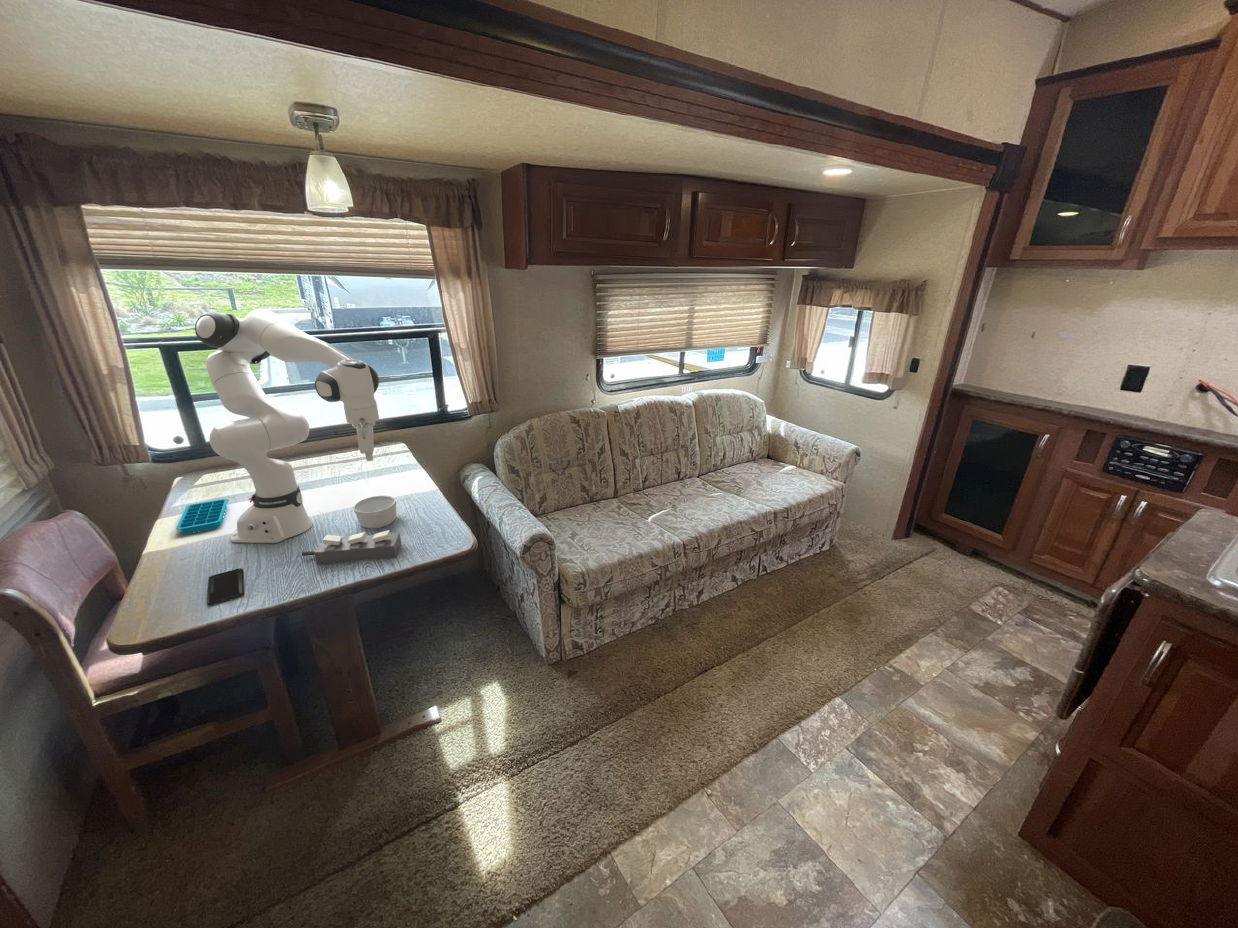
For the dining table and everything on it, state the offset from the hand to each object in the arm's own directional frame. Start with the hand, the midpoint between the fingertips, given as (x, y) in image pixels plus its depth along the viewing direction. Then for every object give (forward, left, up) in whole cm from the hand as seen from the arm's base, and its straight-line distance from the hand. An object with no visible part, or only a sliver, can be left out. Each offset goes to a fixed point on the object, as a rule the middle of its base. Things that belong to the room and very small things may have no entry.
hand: (369, 457), depth 151 cm
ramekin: (-4, +9, -27) cm, 29 cm away
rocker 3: (+3, -12, -22) cm, 25 cm away
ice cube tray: (-62, +19, -28) cm, 71 cm away
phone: (-35, -24, -28) cm, 51 cm away
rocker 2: (-4, -12, -22) cm, 25 cm away
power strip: (-6, -12, -27) cm, 30 cm away
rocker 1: (-11, -12, -22) cm, 27 cm away
